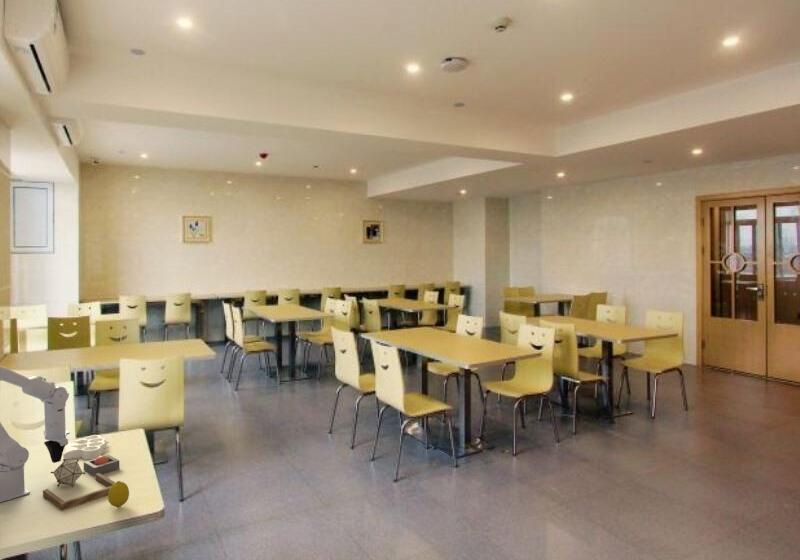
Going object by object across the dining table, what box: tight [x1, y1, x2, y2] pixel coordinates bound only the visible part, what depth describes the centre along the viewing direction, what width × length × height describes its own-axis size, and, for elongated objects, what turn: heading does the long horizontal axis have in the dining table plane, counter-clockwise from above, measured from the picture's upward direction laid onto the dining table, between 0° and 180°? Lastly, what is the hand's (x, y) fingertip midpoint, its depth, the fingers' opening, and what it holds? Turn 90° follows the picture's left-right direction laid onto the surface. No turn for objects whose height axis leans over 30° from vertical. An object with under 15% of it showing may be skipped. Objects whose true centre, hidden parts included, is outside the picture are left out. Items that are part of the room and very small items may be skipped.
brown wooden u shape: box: [42, 473, 116, 511], centre depth 166 cm, size 16×14×2 cm
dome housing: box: [83, 454, 120, 477], centre depth 184 cm, size 8×8×3 cm
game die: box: [49, 458, 86, 488], centre depth 172 cm, size 9×8×10 cm
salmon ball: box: [94, 455, 109, 466], centre depth 184 cm, size 4×4×4 cm
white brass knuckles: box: [62, 434, 110, 460], centre depth 201 cm, size 3×18×15 cm
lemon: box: [107, 480, 130, 509], centre depth 158 cm, size 6×6×8 cm
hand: (56, 461), depth 178 cm, fingers closed
